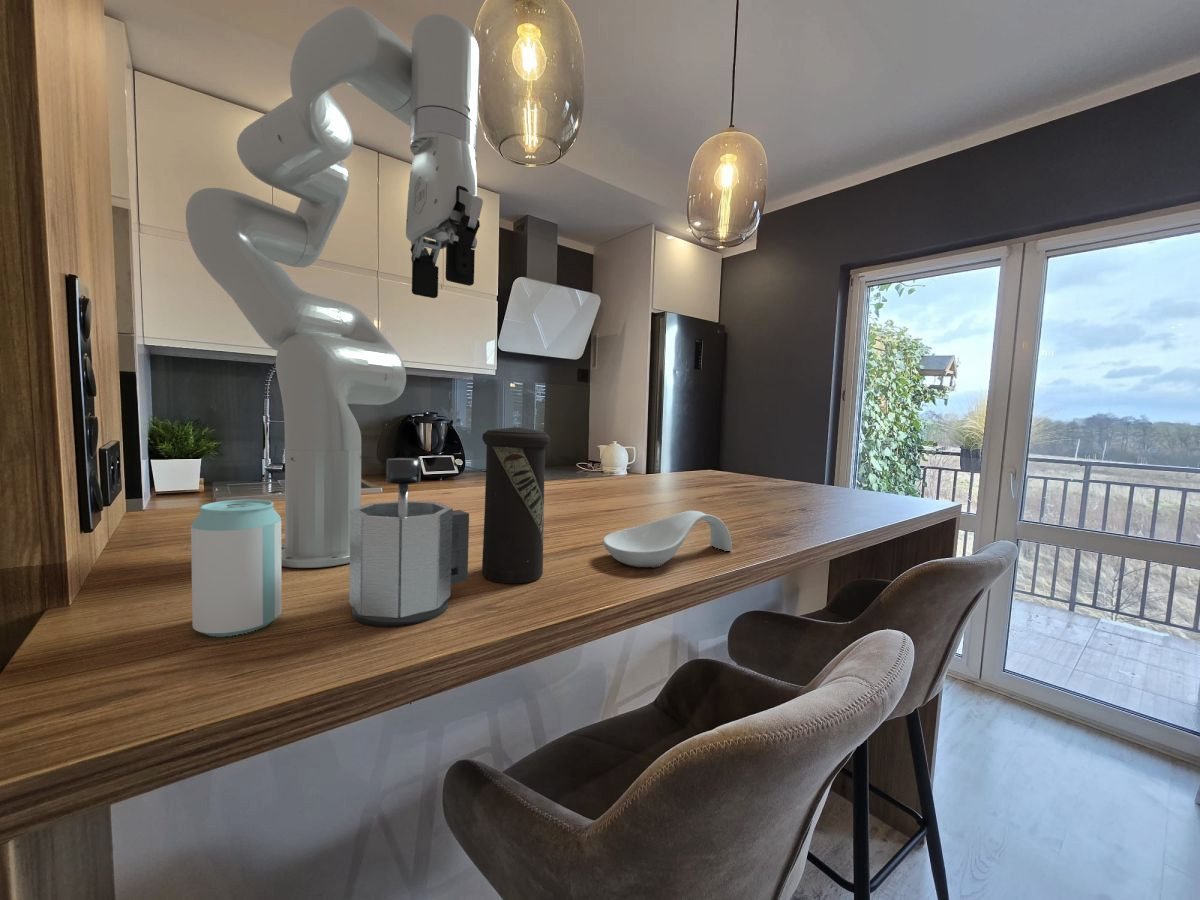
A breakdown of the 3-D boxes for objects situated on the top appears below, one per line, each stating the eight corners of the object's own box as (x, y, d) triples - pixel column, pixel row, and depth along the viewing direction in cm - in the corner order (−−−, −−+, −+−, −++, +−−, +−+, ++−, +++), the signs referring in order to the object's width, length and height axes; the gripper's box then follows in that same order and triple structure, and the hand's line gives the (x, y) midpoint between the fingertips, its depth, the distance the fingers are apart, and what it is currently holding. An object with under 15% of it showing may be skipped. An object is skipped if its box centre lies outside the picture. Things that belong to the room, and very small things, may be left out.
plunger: (359, 576, 54) (360, 457, 53) (420, 566, 59) (422, 456, 58) (380, 595, 49) (381, 463, 48) (445, 582, 54) (447, 461, 53)
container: (511, 590, 61) (516, 429, 60) (465, 573, 66) (469, 425, 65) (558, 574, 68) (563, 429, 66) (513, 560, 73) (517, 426, 72)
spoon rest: (633, 580, 68) (635, 529, 67) (587, 558, 77) (589, 512, 77) (748, 559, 81) (751, 515, 80) (696, 542, 90) (699, 503, 90)
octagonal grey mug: (340, 603, 55) (341, 505, 54) (444, 582, 63) (446, 497, 62) (368, 635, 47) (369, 522, 47) (482, 607, 55) (485, 510, 55)
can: (172, 634, 46) (170, 507, 45) (243, 606, 53) (242, 495, 52) (233, 645, 44) (232, 513, 44) (298, 615, 51) (298, 501, 50)
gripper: (386, 156, 62) (384, 294, 63) (446, 94, 49) (442, 269, 51) (443, 177, 67) (440, 305, 68) (510, 126, 54) (506, 284, 56)
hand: (441, 289), depth 59 cm, fingers open, 9 cm apart
